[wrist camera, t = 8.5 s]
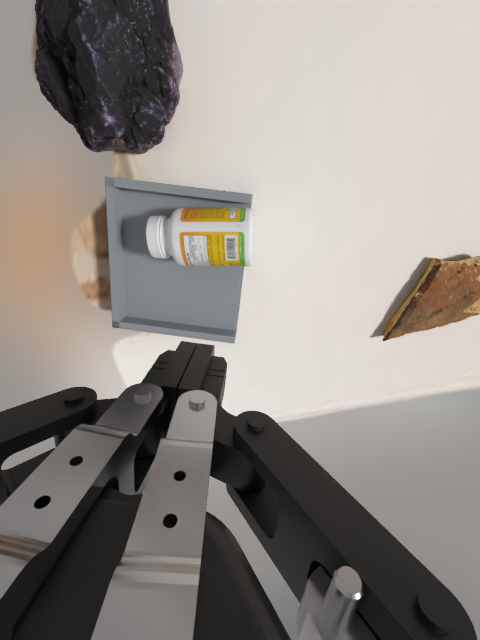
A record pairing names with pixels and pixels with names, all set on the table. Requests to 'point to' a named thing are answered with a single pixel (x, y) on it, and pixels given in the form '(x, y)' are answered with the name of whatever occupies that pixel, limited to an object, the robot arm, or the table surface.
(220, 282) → the tray
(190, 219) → the supplement bottle
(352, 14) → the table surface
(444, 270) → the shard
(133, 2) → the crystal cluster
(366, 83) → the table surface
